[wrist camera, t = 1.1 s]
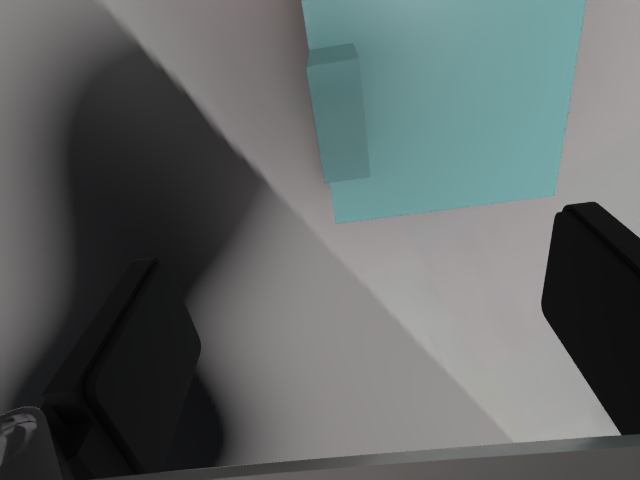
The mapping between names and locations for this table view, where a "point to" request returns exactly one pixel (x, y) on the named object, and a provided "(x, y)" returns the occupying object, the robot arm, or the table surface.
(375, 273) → the table surface
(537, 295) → the table surface
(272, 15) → the table surface
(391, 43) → the lid
